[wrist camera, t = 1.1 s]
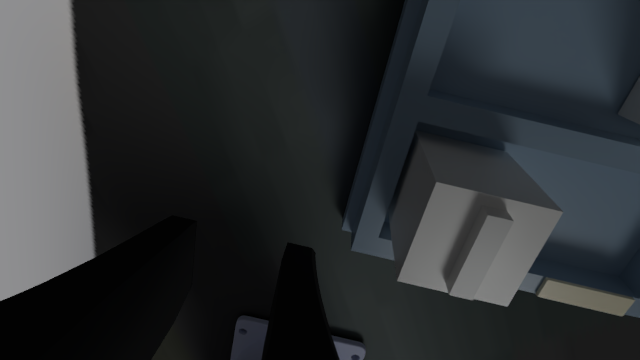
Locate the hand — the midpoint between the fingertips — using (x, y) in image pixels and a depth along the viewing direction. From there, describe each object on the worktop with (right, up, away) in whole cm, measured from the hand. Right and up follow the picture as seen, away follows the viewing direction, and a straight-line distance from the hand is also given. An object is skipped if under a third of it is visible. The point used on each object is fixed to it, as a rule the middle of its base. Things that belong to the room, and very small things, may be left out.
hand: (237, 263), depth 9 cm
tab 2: (+8, +2, +7) cm, 11 cm away
